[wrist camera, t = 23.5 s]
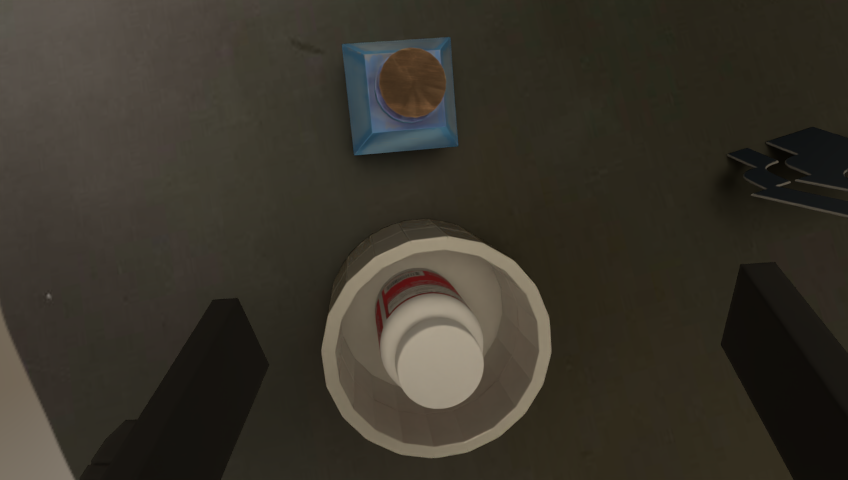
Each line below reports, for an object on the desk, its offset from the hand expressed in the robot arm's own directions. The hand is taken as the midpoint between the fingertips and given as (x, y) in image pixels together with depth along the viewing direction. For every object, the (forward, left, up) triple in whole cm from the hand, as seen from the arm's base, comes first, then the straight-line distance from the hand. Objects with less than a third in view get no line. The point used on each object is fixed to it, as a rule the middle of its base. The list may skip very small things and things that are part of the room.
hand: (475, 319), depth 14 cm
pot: (+3, -7, -23) cm, 25 cm away
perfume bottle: (-2, +7, -24) cm, 25 cm away
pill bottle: (+2, -6, -23) cm, 24 cm away
